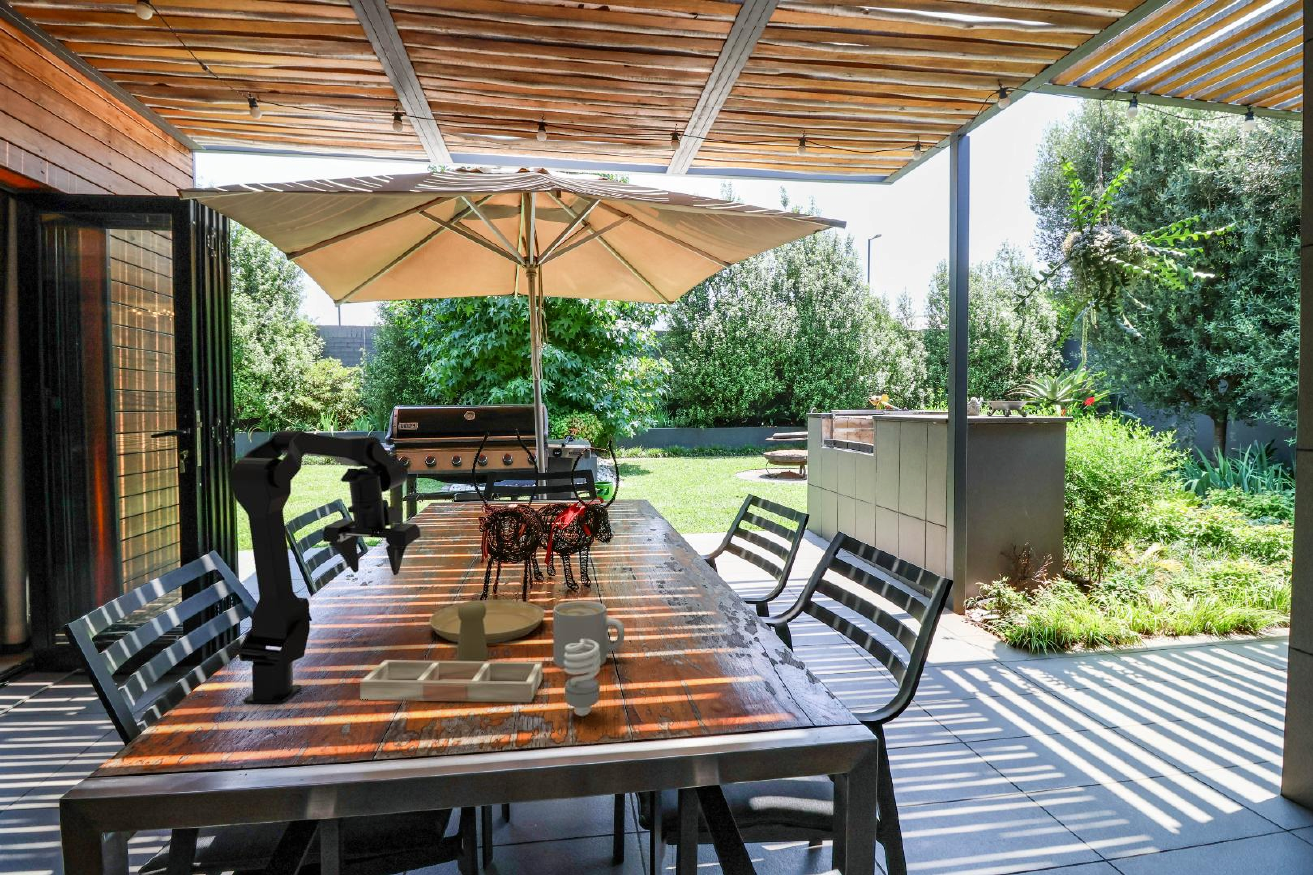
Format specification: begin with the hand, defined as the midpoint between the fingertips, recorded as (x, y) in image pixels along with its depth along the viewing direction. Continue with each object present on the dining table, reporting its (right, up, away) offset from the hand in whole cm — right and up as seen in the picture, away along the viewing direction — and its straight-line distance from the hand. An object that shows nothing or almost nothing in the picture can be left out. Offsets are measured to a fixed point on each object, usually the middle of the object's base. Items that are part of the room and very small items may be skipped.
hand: (376, 573), depth 145 cm
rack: (+22, -15, -23) cm, 35 cm away
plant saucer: (+20, -14, +10) cm, 27 cm away
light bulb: (+45, -16, -33) cm, 58 cm away
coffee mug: (+44, -15, -9) cm, 47 cm away
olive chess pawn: (+22, -15, -9) cm, 28 cm away
